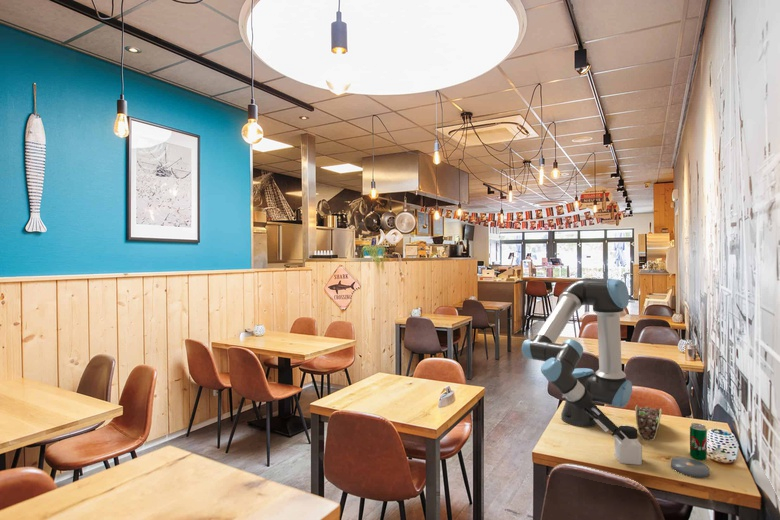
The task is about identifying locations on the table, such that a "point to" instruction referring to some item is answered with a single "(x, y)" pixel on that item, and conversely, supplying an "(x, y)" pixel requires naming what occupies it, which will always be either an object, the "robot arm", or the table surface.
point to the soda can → (698, 441)
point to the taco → (647, 421)
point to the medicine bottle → (629, 447)
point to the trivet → (690, 467)
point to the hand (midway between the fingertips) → (618, 436)
